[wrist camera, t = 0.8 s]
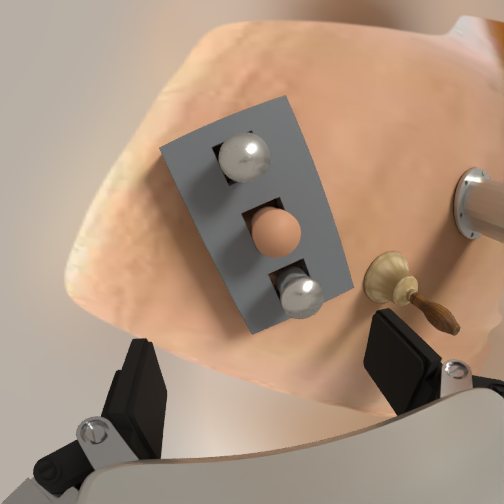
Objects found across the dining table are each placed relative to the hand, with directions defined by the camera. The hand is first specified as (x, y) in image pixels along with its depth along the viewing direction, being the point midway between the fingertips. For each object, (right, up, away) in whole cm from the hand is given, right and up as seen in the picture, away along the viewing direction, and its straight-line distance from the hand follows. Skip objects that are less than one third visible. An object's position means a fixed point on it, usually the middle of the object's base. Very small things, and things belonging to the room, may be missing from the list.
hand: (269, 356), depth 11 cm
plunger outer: (-2, +14, +17) cm, 22 cm away
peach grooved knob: (+1, +7, +19) cm, 21 cm away
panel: (+1, +8, +23) cm, 24 cm away
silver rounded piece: (+4, +1, +22) cm, 22 cm away
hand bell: (+20, 0, +28) cm, 34 cm away
